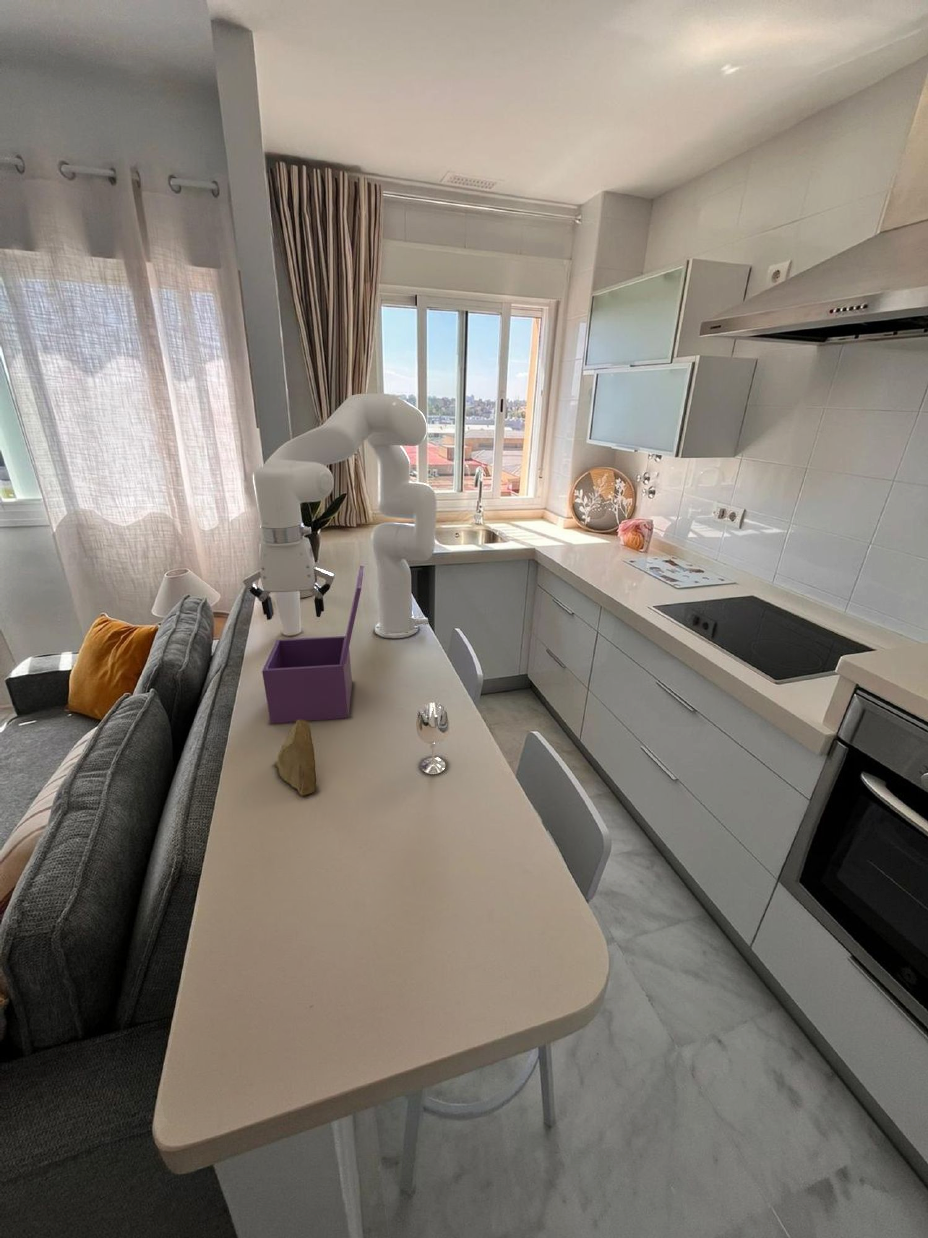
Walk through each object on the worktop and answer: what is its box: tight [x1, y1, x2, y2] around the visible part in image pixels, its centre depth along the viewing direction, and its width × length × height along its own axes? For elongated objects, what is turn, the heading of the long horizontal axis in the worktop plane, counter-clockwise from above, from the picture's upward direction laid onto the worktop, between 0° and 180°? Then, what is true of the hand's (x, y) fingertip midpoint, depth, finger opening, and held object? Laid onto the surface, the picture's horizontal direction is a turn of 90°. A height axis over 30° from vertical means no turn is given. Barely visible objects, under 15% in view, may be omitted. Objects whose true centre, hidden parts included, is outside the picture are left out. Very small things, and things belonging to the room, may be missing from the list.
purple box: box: [261, 635, 353, 725], centre depth 107 cm, size 16×15×12 cm
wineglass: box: [415, 702, 450, 775], centre depth 87 cm, size 6×6×12 cm
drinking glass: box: [273, 591, 302, 637], centre depth 140 cm, size 7×7×15 cm
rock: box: [275, 719, 317, 797], centre depth 85 cm, size 11×9×10 cm
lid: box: [341, 565, 365, 664], centre depth 103 cm, size 16×15×1 cm
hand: (295, 615), depth 101 cm, fingers open, 9 cm apart
